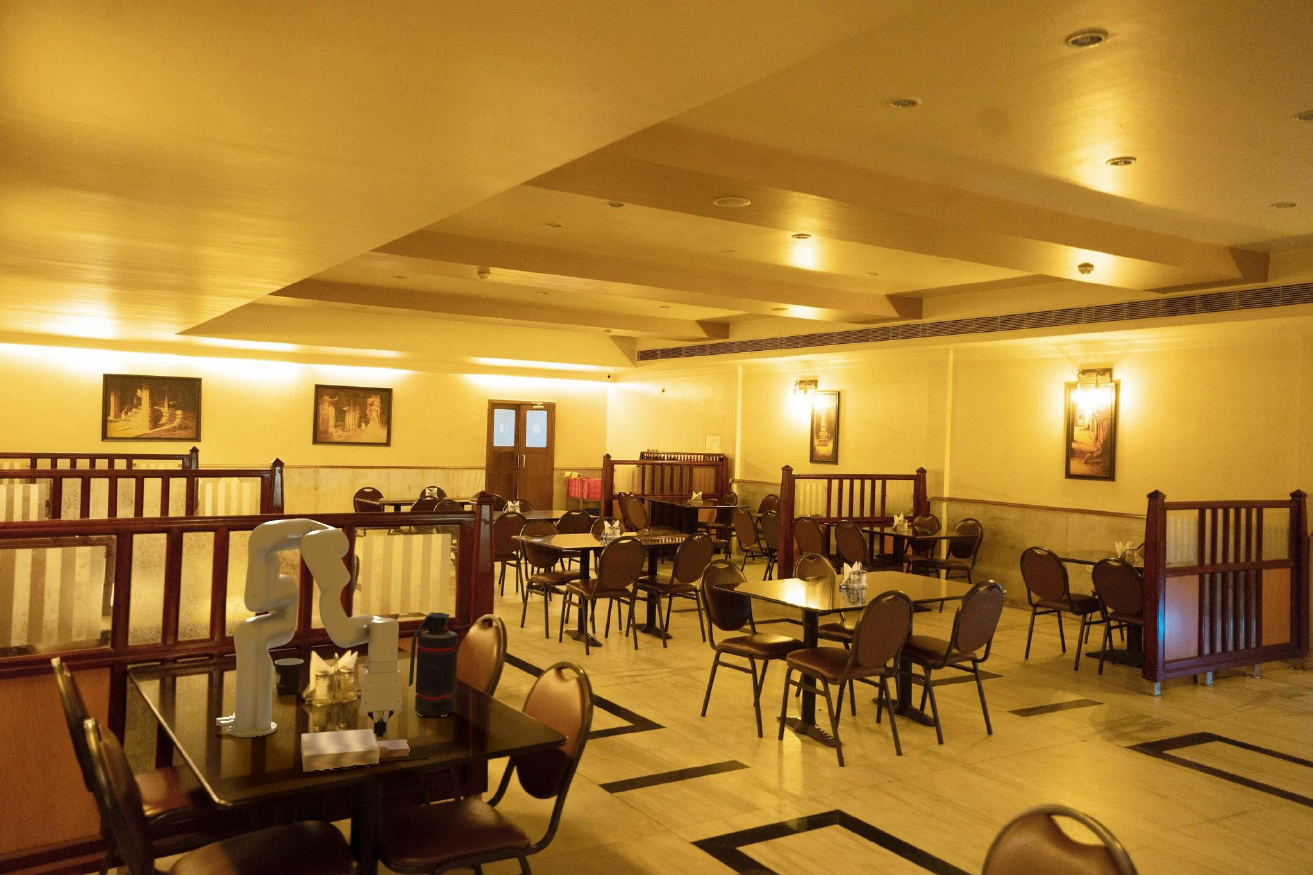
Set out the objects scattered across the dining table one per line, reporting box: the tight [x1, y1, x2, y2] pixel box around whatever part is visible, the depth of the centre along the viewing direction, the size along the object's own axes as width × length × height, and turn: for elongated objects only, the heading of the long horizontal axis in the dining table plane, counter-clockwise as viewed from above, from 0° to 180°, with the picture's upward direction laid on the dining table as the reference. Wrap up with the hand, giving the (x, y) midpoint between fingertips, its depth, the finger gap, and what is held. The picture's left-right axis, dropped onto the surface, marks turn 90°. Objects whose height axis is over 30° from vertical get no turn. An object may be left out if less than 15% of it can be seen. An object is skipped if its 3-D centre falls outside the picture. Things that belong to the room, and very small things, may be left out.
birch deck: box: [300, 728, 380, 773], centre depth 249 cm, size 18×18×4 cm
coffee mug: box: [274, 658, 305, 696], centre depth 308 cm, size 12×9×10 cm
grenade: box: [408, 611, 459, 716], centre depth 292 cm, size 14×12×30 cm
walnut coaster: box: [376, 738, 410, 758], centre depth 253 cm, size 8×8×2 cm
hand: (379, 735), depth 253 cm, fingers closed
